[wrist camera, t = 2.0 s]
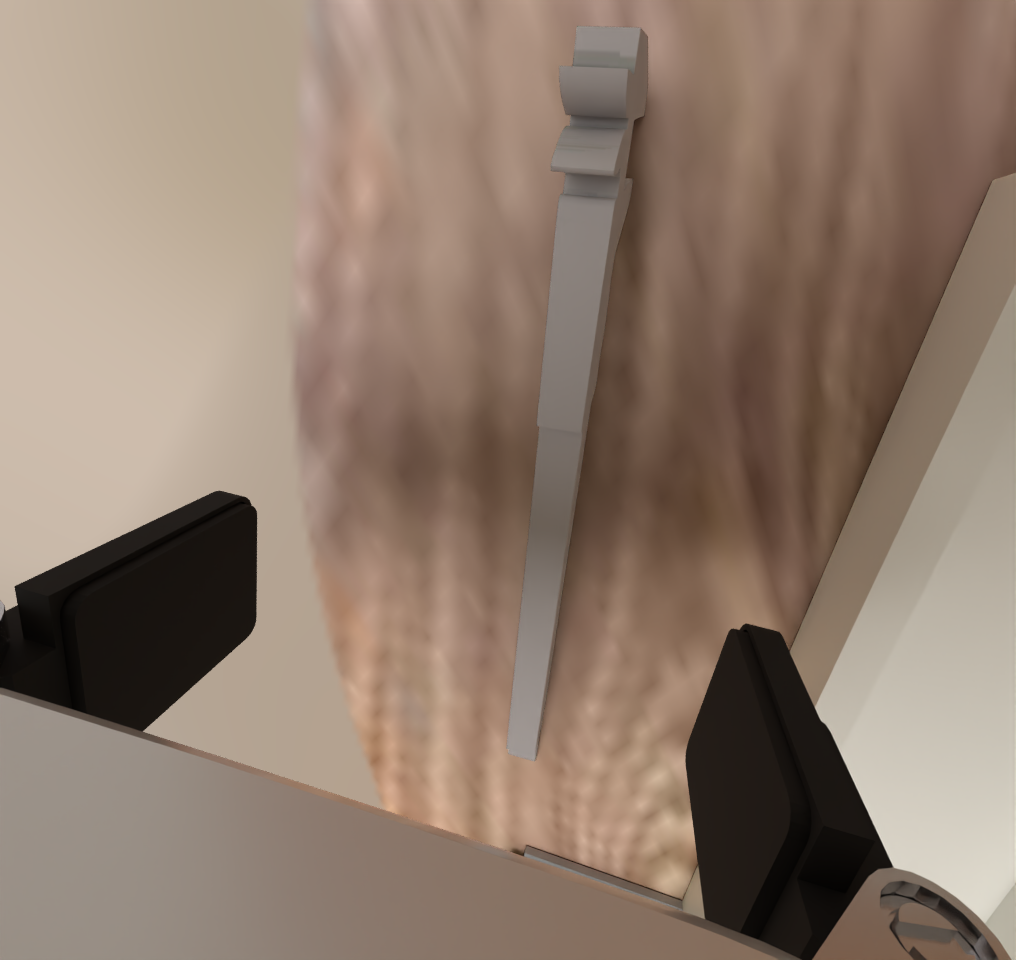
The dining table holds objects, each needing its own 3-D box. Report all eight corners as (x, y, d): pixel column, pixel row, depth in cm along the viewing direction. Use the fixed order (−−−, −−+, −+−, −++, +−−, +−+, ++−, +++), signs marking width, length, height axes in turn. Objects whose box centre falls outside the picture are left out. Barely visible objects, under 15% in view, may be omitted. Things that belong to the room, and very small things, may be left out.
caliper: (603, 93, 13) (567, -61, 7) (649, 95, 13) (650, -61, 7) (511, 744, 20) (456, 924, 14) (540, 752, 20) (496, 938, 14)
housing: (1526, 249, 10) (1781, 237, 8) (916, 1034, 20) (951, 1132, 17) (705, 143, 13) (718, 110, 10) (515, 886, 22) (500, 955, 20)
